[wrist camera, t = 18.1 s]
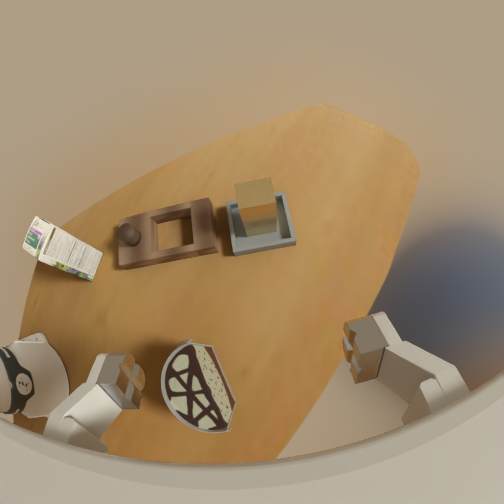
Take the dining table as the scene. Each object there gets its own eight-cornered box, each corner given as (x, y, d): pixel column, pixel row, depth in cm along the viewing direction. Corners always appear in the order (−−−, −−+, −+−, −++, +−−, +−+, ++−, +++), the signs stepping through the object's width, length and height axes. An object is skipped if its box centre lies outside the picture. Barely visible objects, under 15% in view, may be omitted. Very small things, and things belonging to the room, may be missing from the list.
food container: (172, 349, 38) (141, 353, 28) (208, 336, 38) (186, 338, 29) (203, 421, 34) (181, 445, 25) (240, 410, 35) (228, 435, 25)
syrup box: (74, 271, 43) (20, 249, 29) (85, 242, 45) (34, 214, 31) (93, 281, 42) (36, 261, 28) (104, 251, 44) (51, 222, 30)
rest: (235, 256, 41) (233, 252, 39) (228, 207, 43) (225, 202, 42) (295, 244, 41) (296, 240, 39) (284, 197, 43) (284, 191, 41)
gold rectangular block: (247, 237, 41) (238, 209, 32) (244, 216, 42) (234, 184, 33) (277, 231, 41) (276, 202, 31) (272, 210, 42) (270, 177, 32)
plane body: (127, 269, 42) (108, 260, 36) (127, 226, 44) (109, 212, 39) (218, 252, 41) (209, 239, 36) (212, 205, 44) (203, 188, 38)
